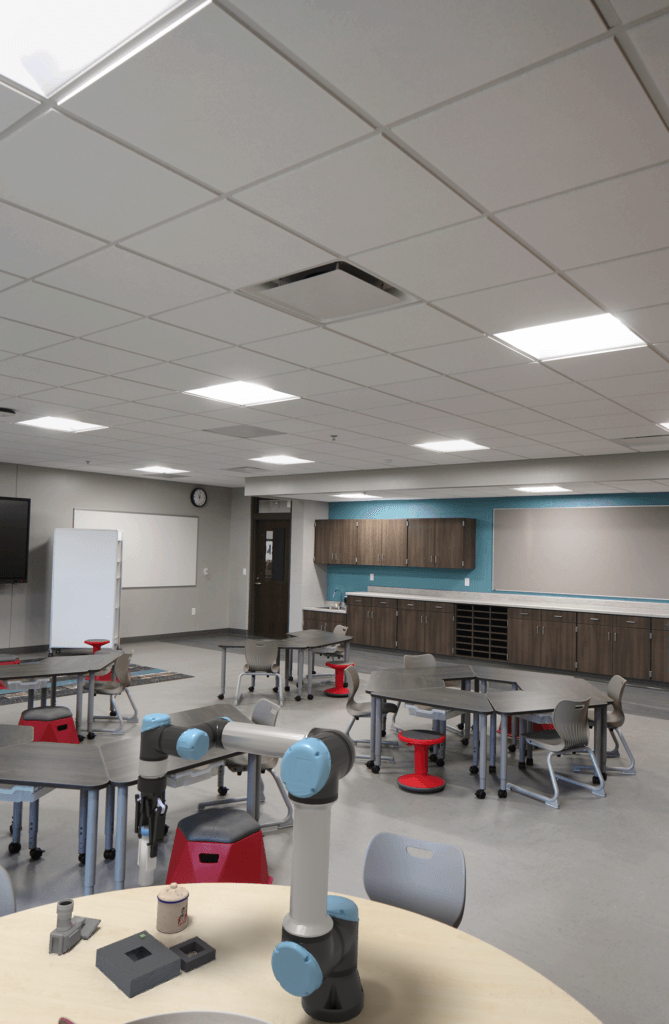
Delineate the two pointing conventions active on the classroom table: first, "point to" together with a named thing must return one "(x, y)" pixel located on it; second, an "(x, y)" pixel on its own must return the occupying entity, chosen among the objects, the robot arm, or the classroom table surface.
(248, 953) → the classroom table surface
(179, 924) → the teacup with lid
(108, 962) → the port panel
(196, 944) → the frame
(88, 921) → the camera
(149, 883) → the plug
